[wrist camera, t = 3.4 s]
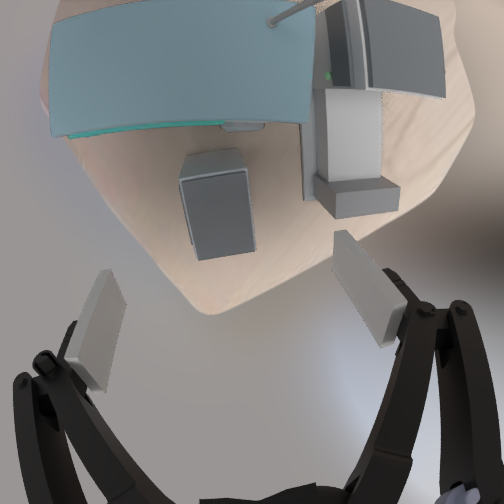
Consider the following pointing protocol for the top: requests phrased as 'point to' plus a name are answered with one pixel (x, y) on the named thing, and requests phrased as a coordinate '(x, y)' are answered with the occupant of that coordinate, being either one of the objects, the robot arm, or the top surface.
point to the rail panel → (341, 137)
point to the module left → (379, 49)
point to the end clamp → (356, 196)
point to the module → (217, 204)
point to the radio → (182, 66)
